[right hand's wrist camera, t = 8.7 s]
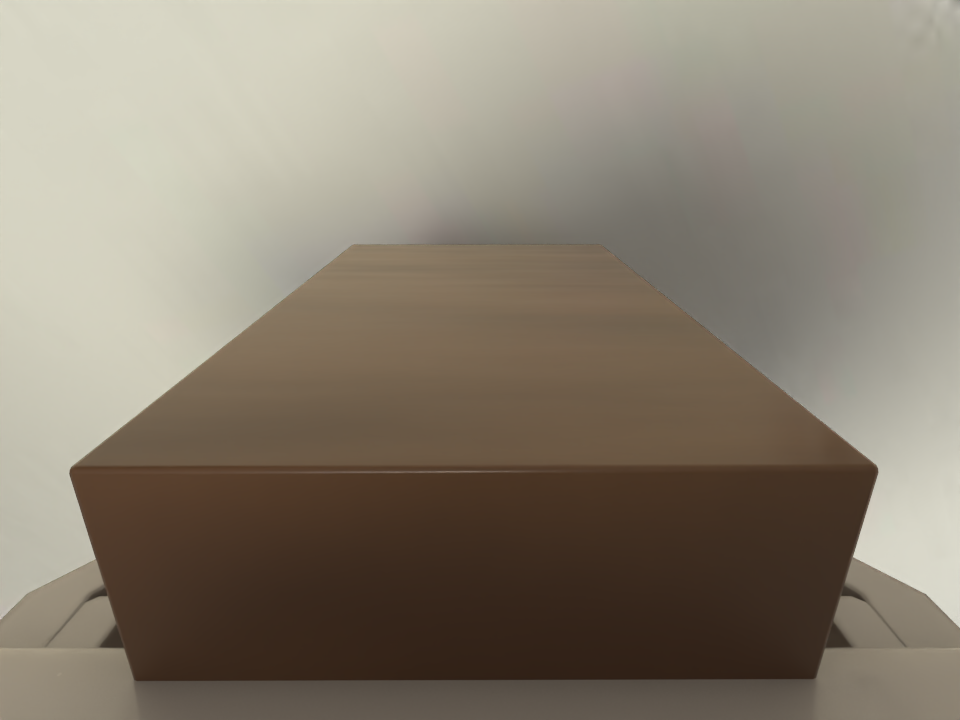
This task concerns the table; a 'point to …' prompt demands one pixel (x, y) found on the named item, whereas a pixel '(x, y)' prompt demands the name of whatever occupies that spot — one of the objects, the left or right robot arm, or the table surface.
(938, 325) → the table surface
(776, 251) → the table surface
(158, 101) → the table surface
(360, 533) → the box
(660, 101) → the table surface
